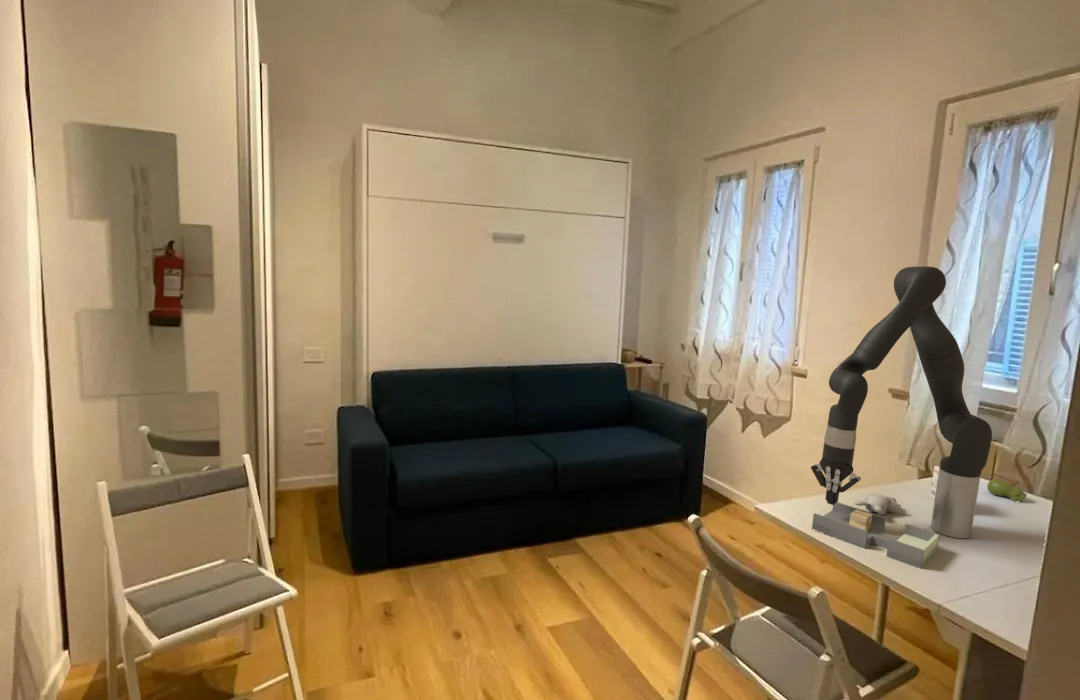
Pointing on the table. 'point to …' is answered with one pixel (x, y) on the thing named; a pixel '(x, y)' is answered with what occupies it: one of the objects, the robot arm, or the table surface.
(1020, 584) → the table surface
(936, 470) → the ink box
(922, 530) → the trap box
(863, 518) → the birch block
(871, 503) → the bunny figurine
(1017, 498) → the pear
